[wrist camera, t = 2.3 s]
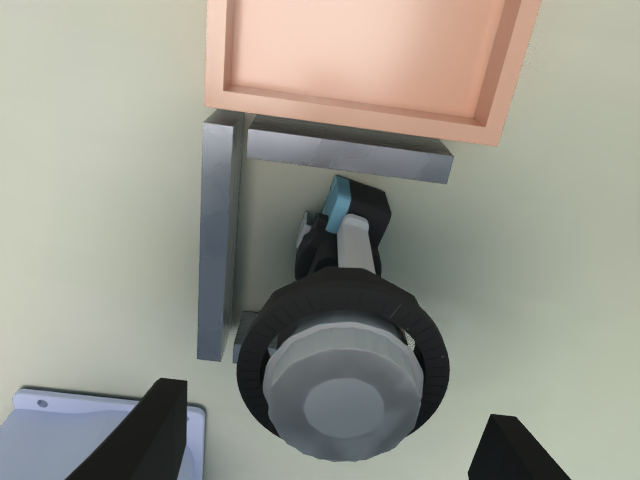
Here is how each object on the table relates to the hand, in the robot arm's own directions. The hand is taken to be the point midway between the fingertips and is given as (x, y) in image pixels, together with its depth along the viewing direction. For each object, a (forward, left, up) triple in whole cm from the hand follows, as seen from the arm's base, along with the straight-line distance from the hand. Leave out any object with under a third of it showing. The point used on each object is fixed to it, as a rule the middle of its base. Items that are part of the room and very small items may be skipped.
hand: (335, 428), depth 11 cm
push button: (0, 0, -10) cm, 10 cm away
